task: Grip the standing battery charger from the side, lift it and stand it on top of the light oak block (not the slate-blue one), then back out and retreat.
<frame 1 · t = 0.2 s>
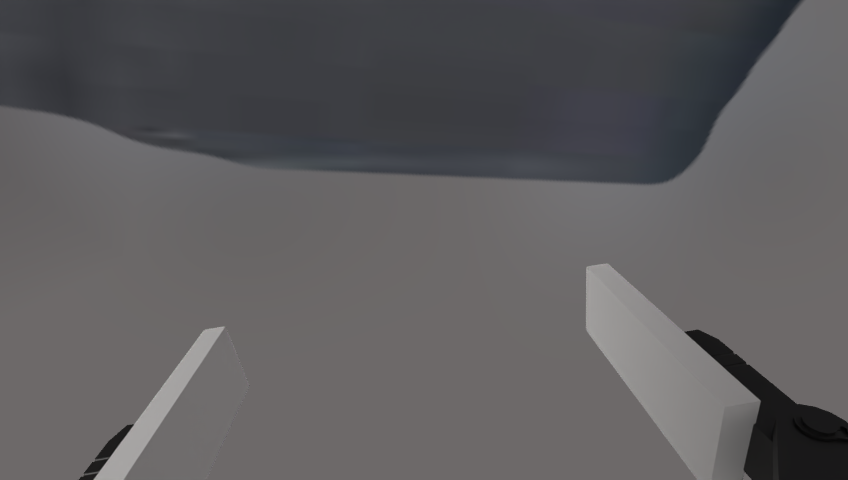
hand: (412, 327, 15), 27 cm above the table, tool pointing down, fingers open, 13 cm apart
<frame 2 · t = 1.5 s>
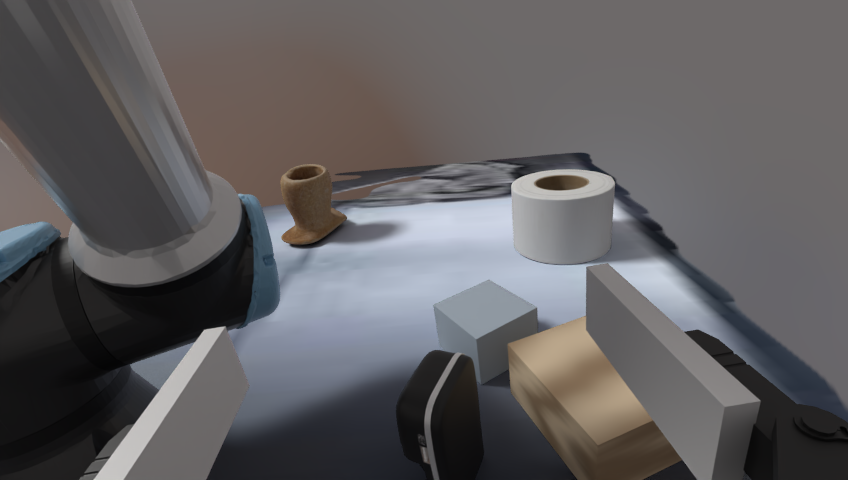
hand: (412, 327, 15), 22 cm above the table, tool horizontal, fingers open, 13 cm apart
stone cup: (321, 234, 88), on the table
toilet paper roll: (560, 244, 68), on the table
oak block: (604, 414, 36), on the table
slate-blue block: (487, 349, 47), on the table
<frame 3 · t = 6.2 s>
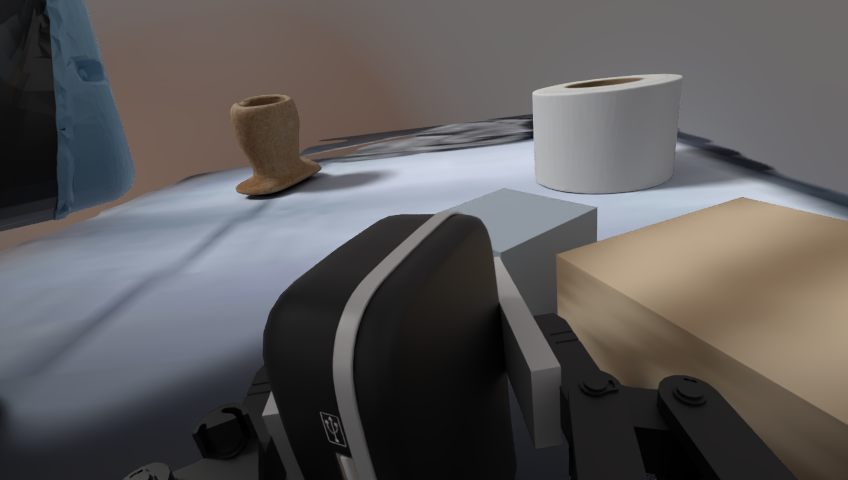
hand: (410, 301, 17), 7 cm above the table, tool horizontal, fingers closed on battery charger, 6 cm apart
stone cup: (288, 187, 70), on the table
toilet paper roll: (600, 176, 50), on the table
oak block: (758, 388, 18), on the table
slate-blue block: (509, 294, 28), on the table
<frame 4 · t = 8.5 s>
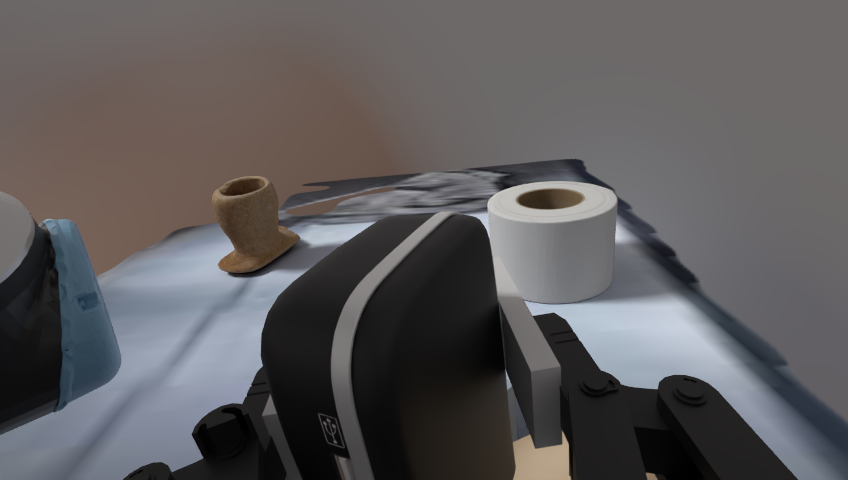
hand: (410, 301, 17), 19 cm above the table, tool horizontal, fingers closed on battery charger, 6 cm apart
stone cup: (268, 259, 74), on the table
toilet paper roll: (550, 274, 55), on the table
slate-blue block: (447, 441, 33), on the table
when the fingers open (13 cm above the table, at t = 10.9 s): battery charger stays where it is, resting on oak block.
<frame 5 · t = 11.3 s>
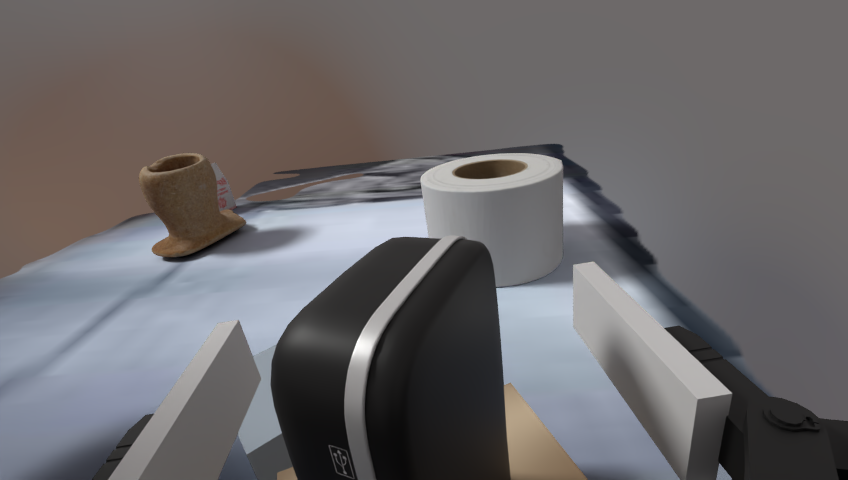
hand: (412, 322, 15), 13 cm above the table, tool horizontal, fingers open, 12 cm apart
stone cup: (209, 244, 69), on the table
toilet paper roll: (496, 257, 49), on the table
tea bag: (218, 213, 87), on the table
slate-blue block: (318, 443, 27), on the table
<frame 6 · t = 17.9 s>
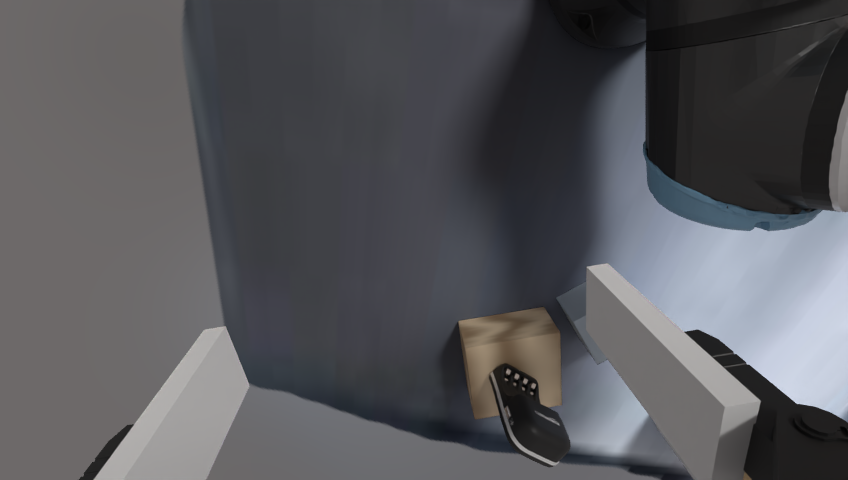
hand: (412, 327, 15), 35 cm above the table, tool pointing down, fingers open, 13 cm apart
battery charger: (515, 374, 53), point 6 cm above the table, touching oak block
oak block: (504, 348, 59), on the table
slate-blue block: (593, 304, 57), on the table
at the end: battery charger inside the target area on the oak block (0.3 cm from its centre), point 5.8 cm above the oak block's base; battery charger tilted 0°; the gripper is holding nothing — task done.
